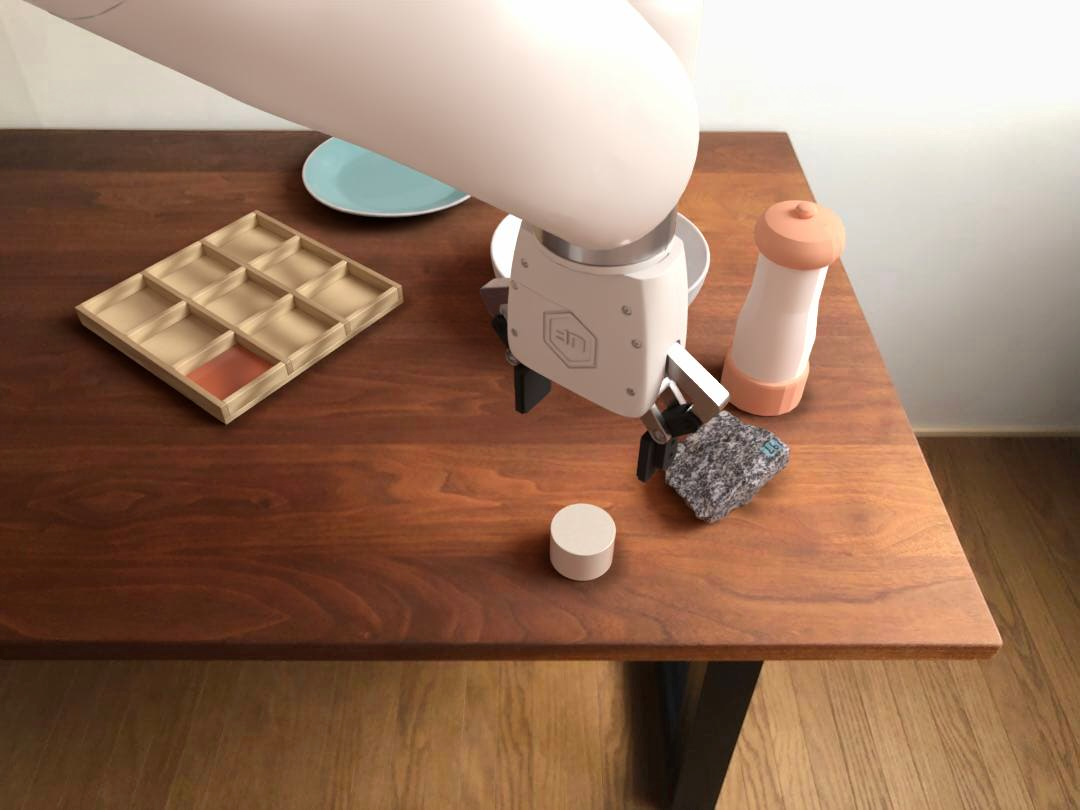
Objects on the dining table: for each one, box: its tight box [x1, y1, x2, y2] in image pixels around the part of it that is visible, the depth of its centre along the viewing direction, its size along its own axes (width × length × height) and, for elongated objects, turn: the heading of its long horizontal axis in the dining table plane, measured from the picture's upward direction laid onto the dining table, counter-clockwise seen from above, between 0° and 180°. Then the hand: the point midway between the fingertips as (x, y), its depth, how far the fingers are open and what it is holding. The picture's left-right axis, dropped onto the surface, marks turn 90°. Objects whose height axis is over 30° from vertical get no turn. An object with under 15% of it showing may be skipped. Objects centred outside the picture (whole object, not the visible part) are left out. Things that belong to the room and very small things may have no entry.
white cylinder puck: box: [549, 502, 617, 582], centre depth 67 cm, size 5×5×3 cm
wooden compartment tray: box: [74, 209, 404, 426], centre depth 87 cm, size 22×22×2 cm
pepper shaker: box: [720, 199, 847, 417], centre depth 74 cm, size 7×7×19 cm
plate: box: [301, 136, 473, 218], centre depth 104 cm, size 22×22×3 cm
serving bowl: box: [489, 212, 711, 308], centre depth 87 cm, size 21×21×7 cm
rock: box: [664, 409, 791, 524], centre depth 72 cm, size 8×10×4 cm
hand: (591, 433), depth 59 cm, fingers open, 9 cm apart
